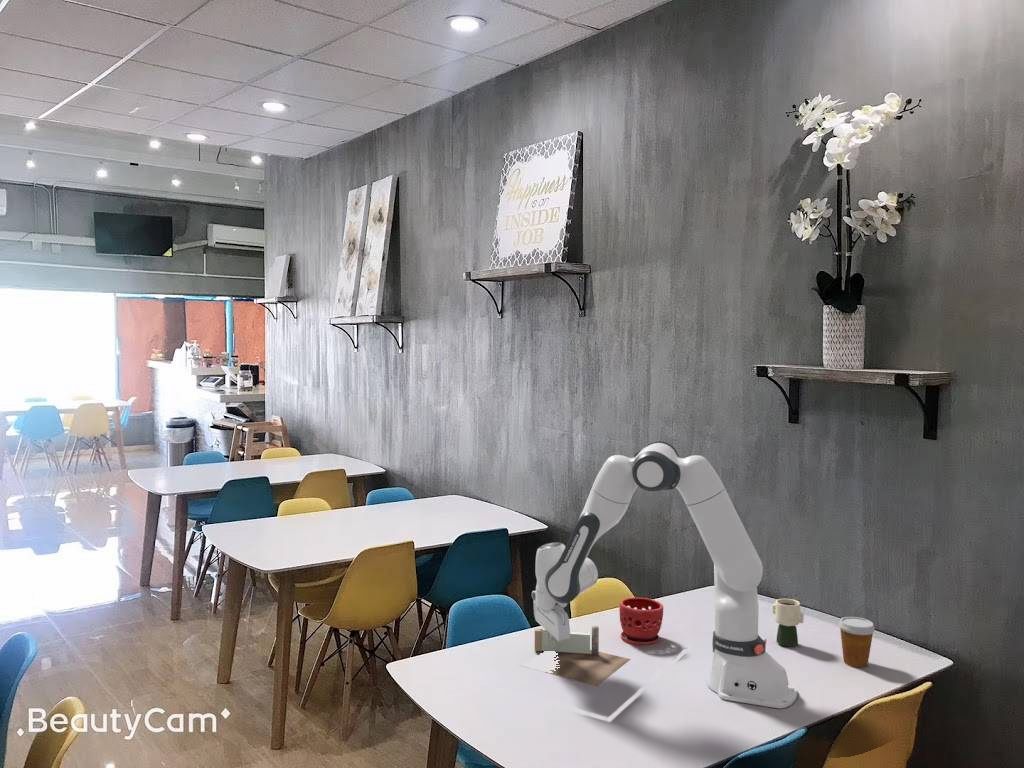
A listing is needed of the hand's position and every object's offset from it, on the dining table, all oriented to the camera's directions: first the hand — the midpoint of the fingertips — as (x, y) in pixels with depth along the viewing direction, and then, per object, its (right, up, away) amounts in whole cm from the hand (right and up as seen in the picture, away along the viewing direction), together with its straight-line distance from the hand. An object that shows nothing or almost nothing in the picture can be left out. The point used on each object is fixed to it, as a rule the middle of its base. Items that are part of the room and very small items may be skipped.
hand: (552, 646), depth 231 cm
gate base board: (+6, -4, -5) cm, 9 cm away
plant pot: (+28, -3, +13) cm, 31 cm away
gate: (+3, -2, +2) cm, 4 cm away
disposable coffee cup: (+86, -4, -3) cm, 86 cm away
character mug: (+72, -3, +11) cm, 73 cm away
